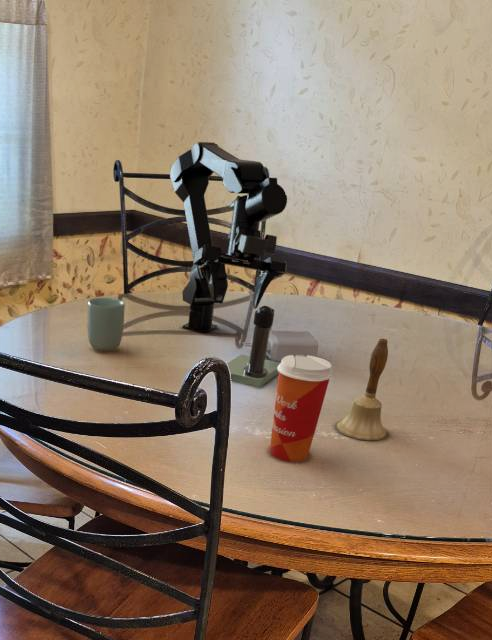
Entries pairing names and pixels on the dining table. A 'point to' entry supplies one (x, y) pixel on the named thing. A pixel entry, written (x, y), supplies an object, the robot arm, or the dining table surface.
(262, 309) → the spout
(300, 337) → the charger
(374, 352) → the hand bell
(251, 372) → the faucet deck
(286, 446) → the coffee cup
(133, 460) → the dining table surface
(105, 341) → the cup
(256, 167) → the robot arm
